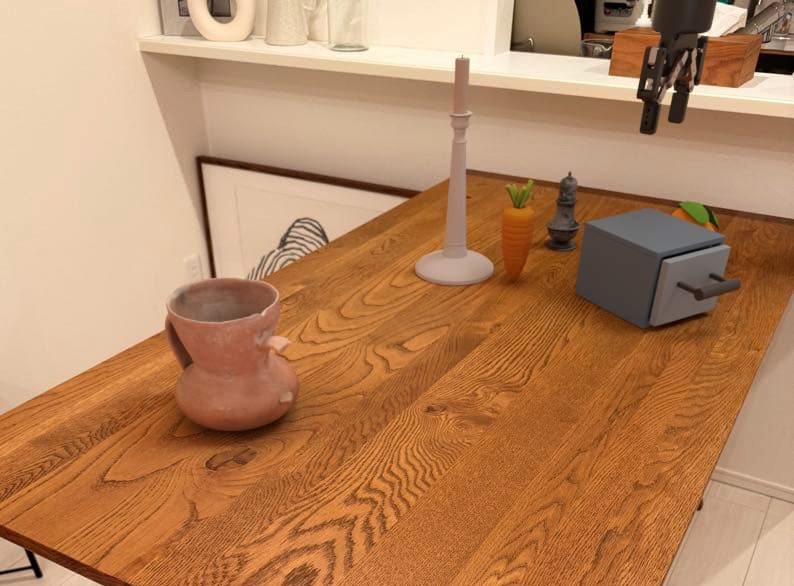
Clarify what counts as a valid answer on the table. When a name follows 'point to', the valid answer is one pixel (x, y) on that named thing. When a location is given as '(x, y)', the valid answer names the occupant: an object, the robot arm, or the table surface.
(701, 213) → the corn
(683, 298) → the drawer
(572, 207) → the salt shaker
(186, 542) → the table surface
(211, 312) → the ceramic jug
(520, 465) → the table surface
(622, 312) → the cabinet
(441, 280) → the candlestick
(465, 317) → the table surface
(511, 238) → the carrot
